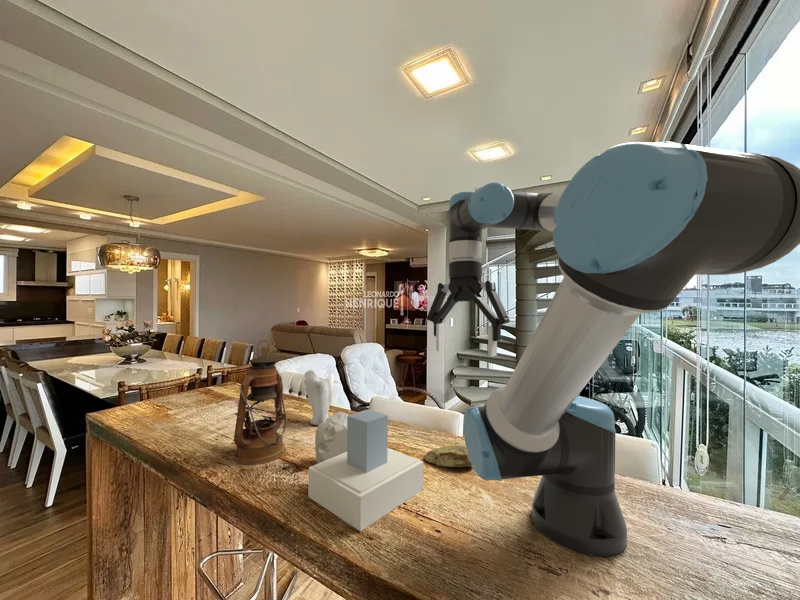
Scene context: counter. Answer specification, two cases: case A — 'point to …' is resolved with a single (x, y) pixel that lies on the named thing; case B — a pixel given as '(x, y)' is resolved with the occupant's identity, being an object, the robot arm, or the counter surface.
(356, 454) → the block
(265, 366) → the lantern
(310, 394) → the white figurine
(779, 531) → the counter surface
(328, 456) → the stone
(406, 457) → the plinth
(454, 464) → the rock
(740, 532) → the counter surface
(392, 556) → the counter surface
